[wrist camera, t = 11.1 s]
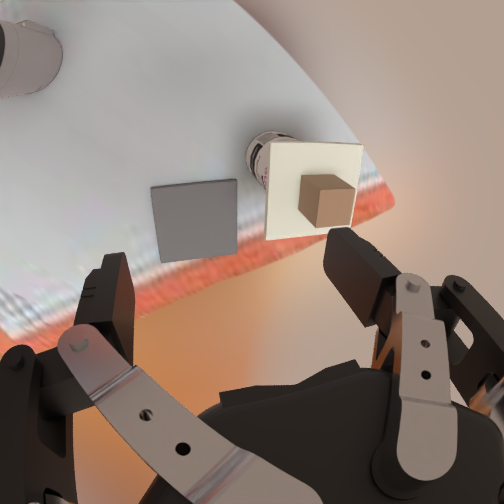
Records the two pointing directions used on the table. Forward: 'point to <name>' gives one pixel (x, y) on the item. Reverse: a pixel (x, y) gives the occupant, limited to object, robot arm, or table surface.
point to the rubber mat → (195, 219)
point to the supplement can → (262, 154)
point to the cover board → (289, 181)
